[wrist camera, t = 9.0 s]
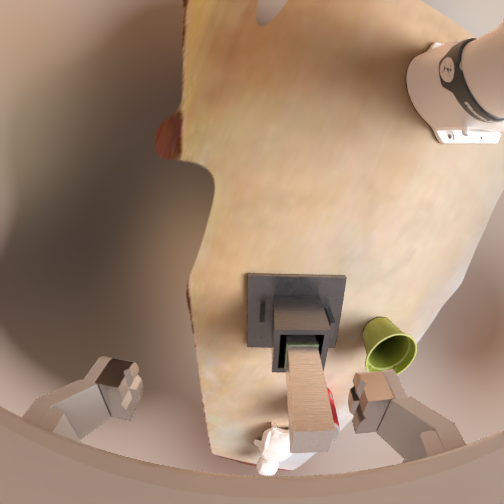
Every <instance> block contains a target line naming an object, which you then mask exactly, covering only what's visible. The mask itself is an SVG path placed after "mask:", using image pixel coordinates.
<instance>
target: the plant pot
mask: <svg viewBox="0 0 504 504" xmlns="http://www.w3.org/2000/svg"><path fill="white" fill-rule="evenodd" d="M363 339H364V343H365V348H366V353H367V356H366V361H365V366H366V370H367V372H373V371H382V370H391V369H393V370H394V371H395V372H396V374H397V375H398V374H399V373H401V372H403V371H404V370H405V369H406V368H407V367H408V366H409V365H410V364H411V363H412V361H413V360H414V357H415V356H416V351H417V344H416V342H415V340H414V339H413V337H411V336H410V335H408V334H405V333H403V332H402V331H401V330H400V329H399V328H397V327H396V326H395V325H394V324H393V323H392V322H391V321H390V320H389V319H388V318H385V317H384V318H375V319H373V320H371V321H370V322H369V323H368V324H367V325H366V326H365V328H364V332H363Z"/></svg>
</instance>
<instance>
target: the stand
mask: <svg viewBox="0 0 504 504" xmlns="http://www.w3.org/2000/svg"><path fill="white" fill-rule="evenodd" d="M345 284H346V276H345V275H299V274H259V273H248V323H247V347H267V348H272V372H286V369H284V362H285V353H284V340H285V335H315V337H316V341H318V344H319V346H318V350H319V354H320V359H321V363H322V368H323V371H324V366H325V361H326V356H327V350H328V348H335V345H336V339H337V334H338V328H339V323H340V317H341V311H342V304H343V298H344V291H345Z"/></svg>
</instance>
